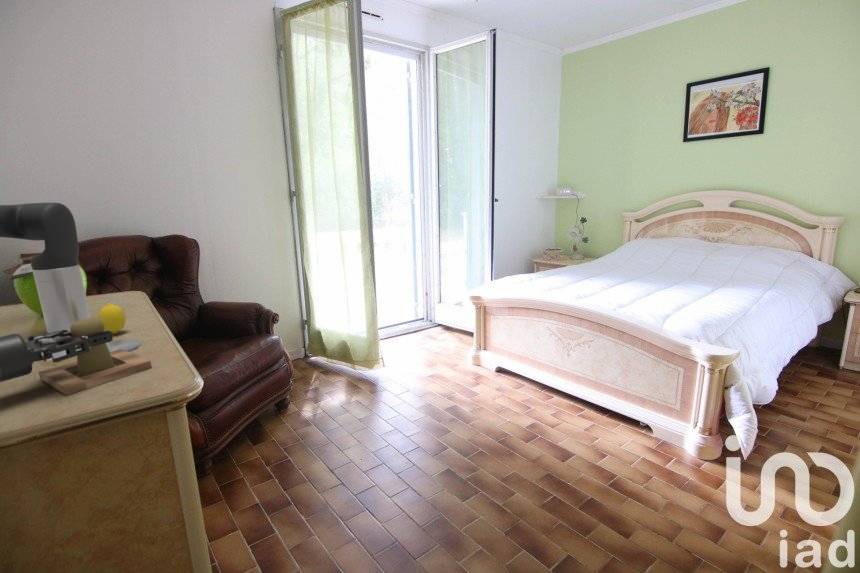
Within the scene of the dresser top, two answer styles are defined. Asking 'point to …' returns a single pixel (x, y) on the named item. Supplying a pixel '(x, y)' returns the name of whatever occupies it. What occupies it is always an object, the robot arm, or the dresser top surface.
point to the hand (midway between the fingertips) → (104, 333)
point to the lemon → (112, 318)
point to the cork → (98, 354)
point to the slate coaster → (123, 344)
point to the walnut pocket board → (72, 384)
